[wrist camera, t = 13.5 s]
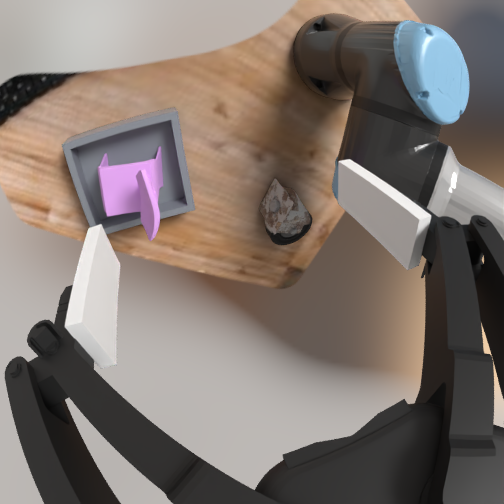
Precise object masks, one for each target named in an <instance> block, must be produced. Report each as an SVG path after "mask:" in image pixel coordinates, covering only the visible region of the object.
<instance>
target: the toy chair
mask: <svg viewBox="0 0 504 504" xmlns="http://www.w3.org/2000/svg"><path fill="white" fill-rule="evenodd" d="M97 168H98V176H99V182H100V189H101V195H102V201H103V206H104V210H105V212H106V214H107V216H114V215H120V214H125V213H132V212H141V222H142V224H143V226H144V228H145V231H146V233H147V235H148V238H149V240H150V241H151V240H152V239H154V237H155V236H156V233H157V231H158V227H159V223H160V211H159V207H158V197H159V190H160V188H161V187H163V172H162V152H161V146H159V148H158V152H157V156H156V159H151V160H148V161H142V162H136V163H130V164H123V165H114V166H108V157H107V153H105V154H104V156H103V159H102V161H101V164H100V166H99V167H97Z"/></svg>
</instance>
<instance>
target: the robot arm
mask: <svg viewBox="0 0 504 504" xmlns="http://www.w3.org/2000/svg"><path fill="white" fill-rule="evenodd" d="M294 61H295V65H296V68H297V71H298V73H299V75H300V77H301V78H302V80H303V81H304V83H305V84H306V85H307V86H308V87H309V88H310V89H312V90H313V91H314V92H316V93H318V94H320V95H322V96H325V97H328V98H332V99H337V100H347V99H352V103H351V106H350V110H349V115H348V119H347V123H346V127H345V132H344V136H343V140H342V144H341V147H340V151H339V155H338V157H337V158H336V161H335V166H336V167H335V173H334V177H333V182H332V190H333V193H334V196H335V198H336V199H337V201H338V204H339V205H340V206H341V207H343V208H344V209H345V210H346V211H347V212H348V213H349V214H350V215H351V216H352V217H354V218H355V219H356V220H357V221H358V222H359V223H360V224H361V225H362V226H363V227H364V228H365V229H366V230H367V231H369V232H370V234H372V235H373V236H374V237H375V238H376V239H377V240H378V241H379V242H380V243H381V244H382V245H383V246H384V247H385V248H386V249H387V250H388V251H389V252H390V253H391V254H392V255H393V256H394V257H395V258H396V259H397V260H398V261H399V262H400V263H401V264H402V265H403V266H404V267H405V268H406V269H407V270H409V269H412V268H414V267H416V266H419V263H420V260H421V256H422V255H423V256H424V257H425V258H426V259H427V260H426V263H425V266H424V270H423V273H422V276H421V278H423V277H424V275H425V287H426V317H425V342H424V357H423V369H422V379H421V386H420V391H419V394H418V396H417V398H416V401H415V403H414V404H407V402H406V401H405V399H403V400H402V401H400V402H398V403H397V404H395V405H393V406H391V407H389V408H388V409H386V410H384V411H382V412H380V413H378V414H377V415H376V416H375V417H374V418H373V419H372V420H370V421H369V422H368V423H367V424H366V425H365V426H363V427H362V428H361V429H360V430H359V431H357V432H356V433H355V434H354V435H352V436H349V437H344V438H339V439H334V440H328V441H323V442H316V443H313V444H311V445H308V446H306V447H303V448H300V449H298V450H295V451H292V452H289V453H287V454H283V459H284V460H283V461H281V462H280V463H278V464H277V465H276V466H274V467H273V468H272V469H270V470H269V471H268V472H267V474H265V475H264V477H263V478H262V479H261V481H260V482H259V484H258V485H257V487H256V489H255V490H253V489H251V488H249V487H247V486H245V485H244V484H242V483H240V482H238V481H237V480H235V479H233V478H232V477H230V476H228V475H226V474H225V473H223V472H222V471H220V470H218V469H217V468H215V467H214V466H212V465H210V464H209V463H207V462H206V461H204V460H203V459H201V458H200V457H198V456H196V455H195V454H194V453H192V452H191V451H189V450H188V449H186V448H185V447H184V446H182V445H181V444H179V443H178V442H177V441H175V440H174V439H173V438H171V437H170V436H169V435H167V434H166V433H165V432H163V431H162V430H161V429H159V428H158V427H157V426H156V425H154V424H153V423H152V422H151V421H150V420H148V419H147V418H146V417H145V416H144V415H142V414H141V413H140V412H139V411H138V410H136V409H135V408H134V407H133V406H132V405H131V404H130V403H128V402H127V401H126V400H125V399H124V398H123V397H122V396H121V395H120V394H118V393H117V392H116V391H115V390H114V389H113V388H112V387H111V386H110V385H109V384H108V383H107V382H106V381H105V380H104V379H103V378H102V377H101V376H100V375H99V374H98V373H97V372H96V371H95V370H94V362H95V363H96V364H97V365H98V366H99V367H100V368H106V367H111V366H115V365H117V355H116V354H117V351H116V348H117V342H116V341H117V307H118V290H119V276H120V263H119V261H118V259H117V257H116V255H115V253H114V251H113V248H112V246H111V244H110V242H109V240H108V238H107V236H106V233H105V231H104V229H103V227H102V224H100V225H97V226H94V227H91V228H89V229H88V232H87V235H86V238H85V242H84V245H83V249H82V252H81V256H80V259H79V263H78V267H77V271H76V275H75V279H74V283H73V285H71V286H68V287H66V288H65V290H64V292H63V293H62V295H61V297H60V301H59V307H58V310H57V314H56V318H55V323H54V324H53V323H52V322H51V321H50V320H43V321H40V322H38V323H37V324H36V325H34V327H33V328H32V329H31V330H30V333H29V334H28V338H27V342H28V345H29V347H31V349H32V350H33V351H34V352H35V353H36V354H37V355H38V357H36V358H34V359H33V360H31V361H29V362H27V361H26V360H25V359H24V358H23V357H16V358H14V359H12V361H10V362H9V364H8V365H7V367H6V371H5V381H6V386H7V392H8V397H9V401H10V406H11V410H12V414H13V418H14V422H15V425H16V429H17V432H18V436H19V439H20V442H21V446H22V449H23V452H24V455H25V458H26V460H27V463H28V465H29V468H30V471H31V474H32V476H33V479H34V481H35V484H36V486H37V488H38V490H39V493H40V495H41V497H42V499H43V502H44V504H121V503H120V502H119V501H118V499H117V498H116V496H115V495H114V493H113V491H112V490H111V488H110V487H109V485H108V483H107V482H106V480H105V479H104V477H103V475H102V474H101V472H100V470H99V469H98V467H97V465H96V463H95V462H94V460H93V458H92V456H91V454H90V452H89V451H88V449H87V447H86V445H85V443H84V441H83V439H82V437H81V435H80V433H79V431H78V429H77V427H76V424H75V422H74V420H73V418H72V416H71V413H70V411H69V409H68V407H67V404H66V402H65V399H67V398H68V397H70V399H71V400H72V401H73V402H74V404H75V405H76V406H77V408H78V409H79V410H80V411H81V412H82V413H83V415H84V416H85V417H86V418H87V419H88V420H89V422H90V423H91V424H92V425H93V426H94V427H95V428H96V429H97V430H98V431H99V433H100V434H101V435H102V436H103V437H104V438H105V439H106V440H107V441H108V442H109V443H110V444H111V445H112V446H113V447H114V448H115V449H116V450H117V451H118V452H119V453H120V454H121V455H122V456H123V457H124V458H125V459H126V460H127V461H128V462H129V463H131V464H132V465H133V466H134V467H135V468H136V469H137V470H138V471H140V472H141V473H142V474H143V475H144V476H145V477H146V478H148V479H149V480H150V481H151V482H152V483H154V484H155V485H156V486H157V487H158V488H160V489H161V490H162V491H163V492H164V493H165V494H166V496H167V498H168V499H169V500H170V501H171V502H172V503H173V504H504V428H503V427H500V426H496V425H493V419H494V417H493V416H494V372H493V361H494V365H495V369H496V373H497V377H498V381H499V385H500V388H501V392H502V396H503V399H504V188H502V187H500V186H498V185H497V184H495V183H493V182H492V181H490V180H488V179H486V178H484V177H483V176H481V175H479V174H477V173H475V172H473V171H471V170H469V169H468V168H466V167H464V166H462V165H460V164H459V163H458V162H457V159H456V157H455V155H454V153H453V151H452V149H451V147H450V146H448V145H445V144H443V143H441V142H439V141H438V136H439V132H440V129H441V126H442V125H444V124H451V123H454V122H455V121H457V119H459V114H462V113H463V112H464V110H465V107H466V105H467V101H468V96H469V76H468V70H467V66H466V63H465V61H464V58H463V55H462V52H461V51H460V49H459V47H458V45H457V44H456V42H455V41H454V40H453V39H452V38H451V36H449V34H447V33H446V32H445V31H444V30H442V29H440V28H438V27H436V26H434V25H430V24H423V23H418V22H414V21H409V20H406V21H368V22H363V21H361V20H358V19H356V18H353V17H350V16H348V15H344V14H337V13H333V14H325V15H320V16H316V17H314V18H312V19H310V20H309V21H308V22H306V23H305V24H304V25H303V27H302V28H301V29H300V31H299V32H298V34H297V37H296V40H295V44H294ZM483 255H484V264H483V262H482V257H483ZM481 323H482V326H483V329H484V332H485V335H486V338H487V341H488V344H489V347H490V351H491V354H492V356H491V355H490V354H485V353H484V351H483V338H482V328H481ZM492 358H493V360H492Z"/></svg>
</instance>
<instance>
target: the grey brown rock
mask: <svg viewBox="0 0 504 504" xmlns="http://www.w3.org/2000/svg"><path fill="white" fill-rule="evenodd" d="M259 210H260V212H261V213H262V215H263V217H264V218H265V225H266V231H267V233H268V235H269V236H270V238H271V240H272V241H273V242H274V243H275V244H278V245H287V244H291V243H293V242H295V241H297V240H299V239H300V238H301V237H303V236H304V235H305V234H306V233H307V232H308V230H309V229H310V227H311V224H312V217H311V215H310V213H309V212H308V211H307V209H306V208H305V207H304V205H303V204H302V202H301V201H300V199H299V197H298V196H297V194H296V192H295V191H294V190H293V189H292V188H287V187H282V186H281V185H280V184H279V182H278V181H277V180H276V179H275V178H274V180H273V182H272V184H271V186H270V188H269V189H268V191H267V193H266V195H265V197H264V199H263V201H262V203H261V204H260V207H259Z"/></svg>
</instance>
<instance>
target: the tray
mask: <svg viewBox="0 0 504 504" xmlns="http://www.w3.org/2000/svg"><path fill="white" fill-rule="evenodd" d="M159 146H161V152H162V172H163V187H161V188H160V190H159V197H158V207H159V211H160V219H162V218H166V217H170V216H174V215H177V214H181V213H185V212H189V211H193V210H195V205H194V200H193V195H192V190H191V185H190V180H189V174H188V169H187V164H186V158H185V152H184V147H183V141H182V135H181V129H180V123H179V117H178V111H177V110H176V108H175V107H173V108H169V109H164V110H160V111H156V112H152V113H148V114H144V115H140V116H136V117H132V118H129V119H125V120H122V121H118V122H115V123H111V124H108V125H105V126H102V127H99V128H96V129H92V130H89V131H87V132H84V133H81V134H78V135H75V136H72V137H70V138H68V139H67V140H66V141H65V142H64V143H63V144H62V147H63V150H64V154H65V157H66V160H67V164H68V167H69V170H70V173H71V176H72V179H73V182H74V185H75V188H76V191H77V194H78V196H79V199H80V202H81V205H82V207H83V210H84V213H85V215H86V218H87V220H88V223H89V225H90V228H91V227H94V226H97V225H100V224H102V227H103V229H104V231H105V233H106V234H109V233H113V232H116V231H119V230H123V229H126V228H130V227H133V226H137V225H140V224H142V222H141V212H132V213H125V214H120V215H114V216H107V214H106V212H105V210H104V206H103V201H102V195H101V189H100V182H99V176H98V168H97V167H99V166H100V164H101V161H102V159H103V156H104V154H105V153H107V157H108V166H114V165H123V164H130V163H136V162H142V161H148V160H151V159H156V156H157V152H158V148H159Z"/></svg>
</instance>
